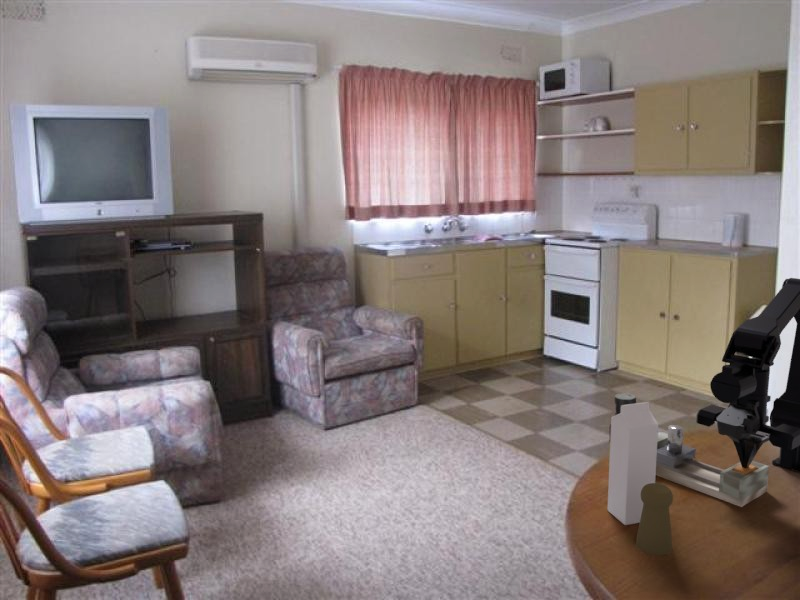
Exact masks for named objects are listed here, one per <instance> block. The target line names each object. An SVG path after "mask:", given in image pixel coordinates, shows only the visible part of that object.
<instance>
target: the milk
mask: <svg viewBox="0 0 800 600" xmlns="http://www.w3.org/2000/svg"><path fill="white" fill-rule="evenodd" d="M610 424H611V439H610V463H609V462H608V488H607V489H608V493H607V511H608V512H609V513H610V514H611V515H612V516H613V517H615V518H616V519H617V520H618V521H619V522H621V523H622V524H623V525H624V526H628V525H629V526H630V525H634V524H635V525H636V524H638V523H639V524H640V519H641V514H642V509H643V504H644V503H643V502H642V500H641V490H642V488H643V487H644V486H645V485H647V484H650V483H656V457H657V439H658V432H659V422H658V421H657V419H656V417H654V415H653V413H652V411H651V410H650V402H649V401H646V402H645V401H644V402H636V404H628V405H622V406H621V412H620V414H617V415H615V414H614V415H613V416H611V418H610Z"/></svg>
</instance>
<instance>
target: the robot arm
mask: <svg viewBox="0 0 800 600" xmlns="http://www.w3.org/2000/svg"><path fill="white" fill-rule="evenodd" d="M793 318H794V320H795V322H796V328H795V333H794V334H795V335H794V340H793V347H792V351H791V357H790V362H789V368H788V369H789V370H788V375H787V381H786V386H785V391H784V392H783V393H782V394H781V395H780V396H779V397H776V398H775V399H774V400H773V405H772V410H771V411H770V416H768V415H767V411H768V409H767V408H768V403H769V402H771V398H772V397H771V396H772V395H769V387H770V386H769V384H770V374H771V373H770V372H771V367H772V366H774V360H775V358H776V356H777V354H778V352H779V350H780V349H781V345H782V341H781V334H782V333H783V331H784V329H785V328H786V327H787V326H788V324H789V323H790V322H791V321H792V319H793ZM737 354H738V355H737ZM721 362H723V363H726V364H724V365H723V366H722V368H721V372H717V373H716V374H715V375H714V376H713V377H712V378H711V380H710V390H711V393H712V395H713V396H714V398H715V399H717V401H720V402H722V403H723V404H728V406H727V407H722V406H719V405H715V404H710V405H707V406H705V407H703V408H700V409H699V410H698V411H697V413H696V418H695V423H696V424H697V425H698V424H699V425H702V426H705V427H708V428H709V427H712V426H713V425H715V424H716V425H717V432H718V434H719V435H722V436H726V437H728V438H729V439H731V441H732V442H733V445H734V447H735V449H736V452H737V456H738V460H739V462H741V465H742V467H743V468H748V467H749V465H750V464H751V462H752V461H754V458H755V456H756V455H757V453H759V450H760V449H761V447H762V446H763V444H764V443H767V442H768V441H769V443H771V445H772V446H773V447H776V448H779V455H778V457H777V458H775V459H773V460H771V464H772V465H776V466H779V467H782V468H786V469H789V470H791V471H795V472H798V473H800V278H795V277H790V278H785V280H784V281H783V283H782V287H781V288H780V290H779V291H778V292H777V293H776V294H775V296H774V297H773V298H772V299H771V300H770V301H769V303H768V304H767V305H766V307H765V308H764V309H763V310H762V311H761V313H760V314H758V315H757V316H756V317H752V318H750V319H746V320H745V321H744V322H742V323H741V324H740V325H739V326H738V327H736V329H735V330H734V331H733V333H732V335H731V337H730V340H729V342H728V345H727V347H726V349H725V351H724V354H723V357H722V358H721ZM768 422H769V424H770V425H768V424H766V423H768Z"/></svg>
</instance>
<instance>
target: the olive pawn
mask: <svg viewBox="0 0 800 600" xmlns="http://www.w3.org/2000/svg"><path fill="white" fill-rule="evenodd" d="M673 499H674V494H673V492H672V489H670V488H669V487H668V486H667V485H665V484H662V483H656V482H655V483H650V484H647V485H645V486H644V487H643V488H642V490H641V500H642V502H643V503H644V504H643V509H642V514H641V519H640V523H639V524H638V529H637V535H636V540H635V546H636V547H637V549H639V551H641V550H642V552H644V553H645V552H646V553H645V554H648V555H653V556H665V555H668V554H670V553H671V552H672V551H673V539H672V528H671V516H670V507H671V505H673Z"/></svg>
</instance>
